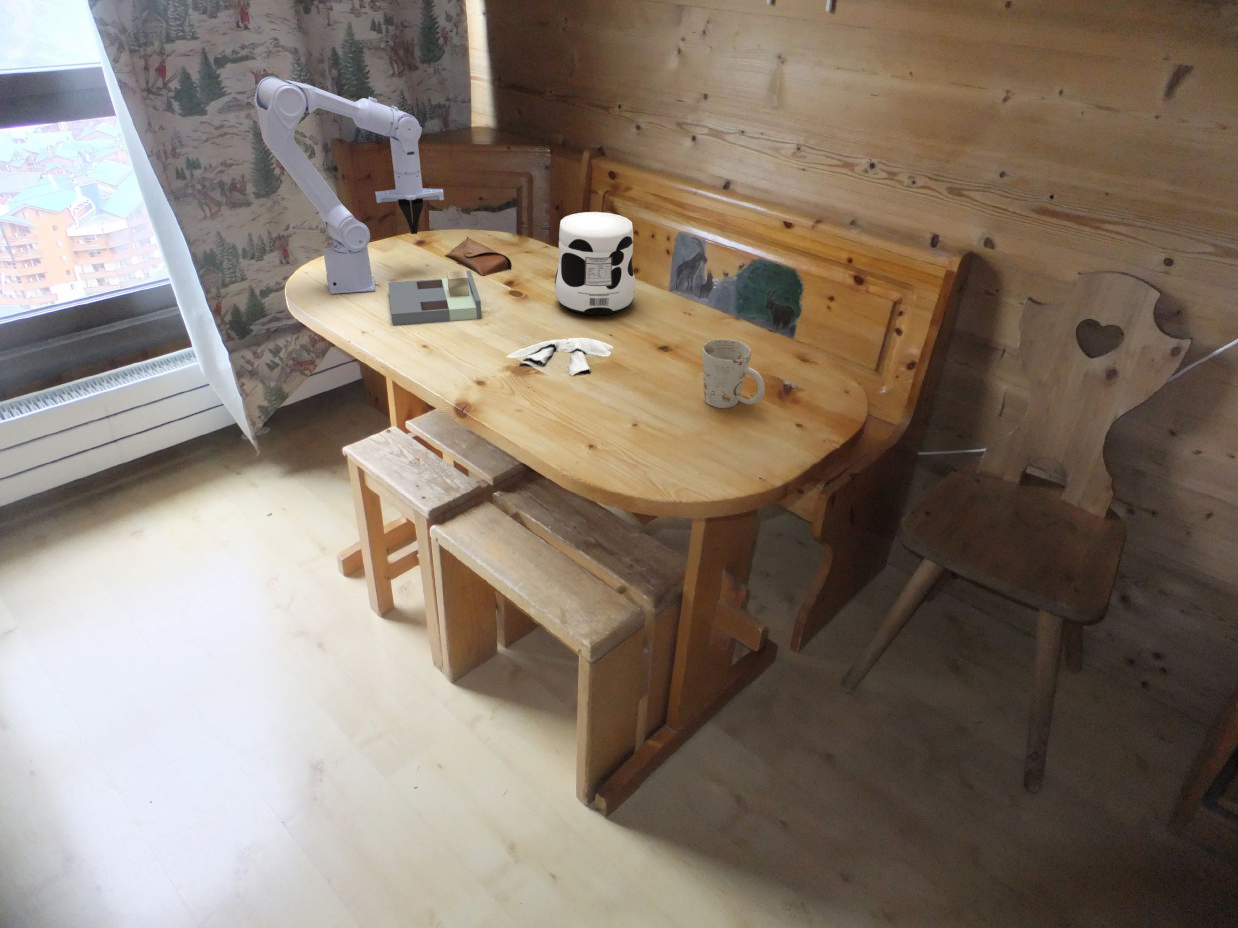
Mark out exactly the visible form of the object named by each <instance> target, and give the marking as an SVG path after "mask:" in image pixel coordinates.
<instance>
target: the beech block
mask: <svg viewBox="0 0 1238 928" xmlns="http://www.w3.org/2000/svg"><path fill="white" fill-rule="evenodd" d="M466 271H467V270H459V271H447V272H446V277H447V278H446V279H448V290H449V294H450V297H458V296H469V284H468V276H467V273H466Z"/></svg>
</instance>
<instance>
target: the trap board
mask: <svg viewBox="0 0 1238 928" xmlns="http://www.w3.org/2000/svg"><path fill="white" fill-rule="evenodd" d="M465 271H466V273H467V276H468V284H469V296H458V297H450V294H449V290H448V279H447V278H437V279H424V280H423V279H422V280H420V279H419V280H407V281H405V280H404V281H391V282H388V283H387V285H388V294H389V303H390V309H391V310H390V311H391V320H392V326H402V325H413V324H414V325H416V324H427V323H428V324H429V323H438V322H439V323H440V322H453V321H466V320H477V319H483V318H482V317H483V316H482V302H481V298H480V294H479V291H478V288H477V286H476V283H475V280H474V277H473V274H472V270H465Z"/></svg>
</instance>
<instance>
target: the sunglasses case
mask: <svg viewBox="0 0 1238 928" xmlns="http://www.w3.org/2000/svg"><path fill="white" fill-rule="evenodd" d="M443 256H444V257H446V258H448V259H451V260H453V261H455V262H458V263H459V264H461V265H463V266H464V267H467V268H468V269H470V270H471V271H473V272H476V273H477V274H478V275H480V276H481V277H487V276H490V275H493V274H497V273H501V272H506V271H508V270H509V271H511V269H512V262H511V260H510V258H509V257H508V256H506V255H505V254H503V253H500V252H497V251H496V250H494V249H492V248H491V247H488V246H487V245H485V244H482V243H480V242H477V241H475V240H473V239H472V238H470V237H469V236H466V239H464V240H463V241H462V242H460V243H459V244H457V245H456V246H455V247H454V248H452V250H450V251H449V252H448V253H446V254H444V255H443Z"/></svg>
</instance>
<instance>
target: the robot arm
mask: <svg viewBox="0 0 1238 928" xmlns="http://www.w3.org/2000/svg"><path fill="white" fill-rule="evenodd" d="M253 99H254V100H253V103H254V105H255V108H256V111H257V115H258V119H259V120H258V122H259V127H260V132H261V138H262V140H263V142H264V143H265V145H266V146H267V148H269V150H270V151H271V153H272V154H273V155H274V156H275V158H276V159H277V160H278V162H279V163H280V165H282V166H283V168H284V170H285V171H286V172H287V173H288V174H289V176H290V178H292V179H293V181H294V182H295V183H296V185H297V186H298V187H299V188H300V190H301V191H302V192H303V194H304V195H305V196H306V197H307V199H308V200H309V201H310V203H311V204H312V205H313V207H314V208H315V209H316V210H317V211H318V213H319V217H320V219H321V220H322V222H323V223H324V226H325V227H324V228H325V231H326V234H327V235H328V236H329V237H330V238H332V246H331V247H327V248H326V247H325V248H323V256H324V257H323V258H324V264H325V265H324V266H325V271H326V282H327V283H328V287H329V293H330V294H331V295H334V294H348V293H349V294H350V293H362V292H375V290H376V285H375V283H376V282H375V276H373V275H372V269H371V262H370V255H369V248H368V245H369V243H370V240H371V233H370V229H369V228H368V226H367V225H366V224H365V223H363V222H361V221H359V220H358V219H356V218H355V216H354V214H352V212H351V211H350V210H349V209H347V208H346V207H345V205H343V203H342V202H341V200H339V198H338V196H337V195H336V194H335V193H334V191H333V190H332V189H331V187H330V186H329V185H328V184H327V182H326V181H325V180H324V178H323V177H322V175H321V174H320V173H319V171H318V170H317V169H316V167H315V165H313V163H312V162H311V161H310V159H309V158H308V157H307V155H306V154H305V153H304V151H303V150H302V148H300V146H299V145H298V143H297V142H296V141H295V139H294V137H295V132H296V129H297V126H298V125H299V122H300V121H301V119H302V117H303V116H304V114H305V112H307V113H309V114H310V113H313V112H314V111H315V110H317V109H321V110H325V111H328V112H330V113H334V114H337V115H342V116H344V117H348V118H351V119H352V121H353V122H354V124H355V125H356V127H357V128H360V129H364V130H365V131H370V132H372V133H375V134H379V135H382V136H384V137H389V140H390V151H391V160H392V167H393V168H392V169H393V176H394V184H395V189H388V190H387V189H386V190H381V191H380V190H379V191H375V198H376V199H375V200H376V203H377V204H381V203H385V202H386V203H387V202H388V203H389V202H397V203H398V207H399V209H400V210H401V212H402V214H403V216H404V217H405V219H406V221H407V224H408V227H409V230H410V234H411V235H417V234H418V229H419V227H418V226H419V222H420V217H421V215H422V214H421V213H422V211H423V209H424V201H429V200H438V201H444V200H445V197H444V196H445V195H444V189H443V188H423V182H422V181H423V179H422V169H421V161H420V150H419V140H420V138H421V135H422V131H423V127H422V126H420V123H419V121H418V119H416V117H415V116H414V115H412V114H410V113H407V112H405V111H403V110H399V108H398V107H397V106H394V105H391V106H388V105H386V104H385V105H384V104H382V103H380V102H378V99H376V98H374V97H372V96H368V98H364V97H363V98H360V99H357V101H353V100H350V99H347V98H344V97H342V96H339V95H338V94H337V95H336V94H335V93H331V92H328V91H327V90H323V89H321V88H318V87H315V86H313V85H310V84H307V83H301V82H297V81H293V80H288V79H285V80H282V79H280V78H279V77H276V76H267V77H266V76H265V77H264V78H262V79H261V80H260V81H259V82H258V84H257V86H256V89H255V95H254V98H253Z"/></svg>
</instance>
